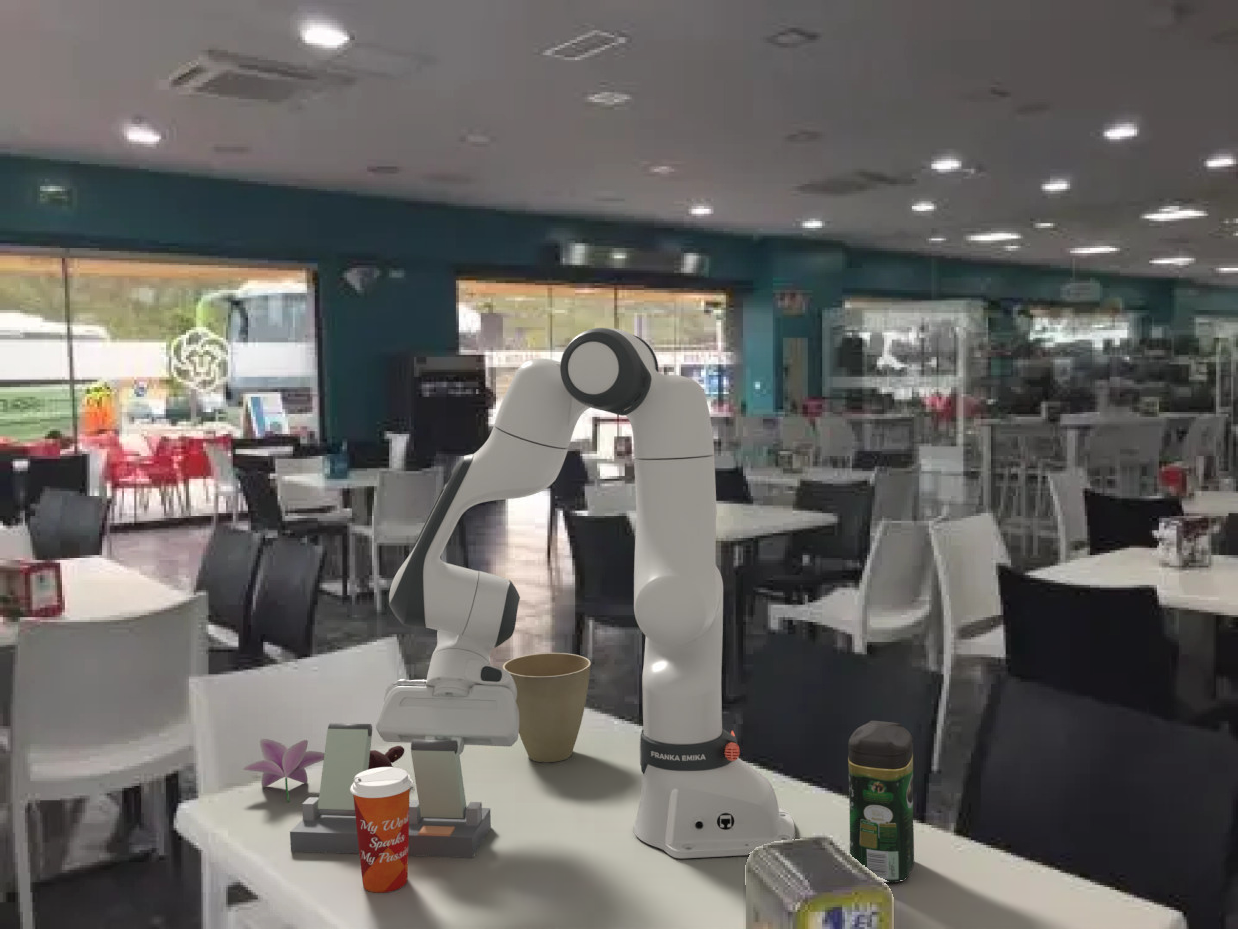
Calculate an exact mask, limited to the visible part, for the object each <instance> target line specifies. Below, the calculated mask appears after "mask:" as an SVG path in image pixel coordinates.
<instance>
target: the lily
mask: <svg viewBox="0 0 1238 929" xmlns="http://www.w3.org/2000/svg"><path fill="white" fill-rule="evenodd" d="M308 742H309V741H308V739H304V740H300V741H299V742H296V743H295V744H293V745H291V746H290V747H287V746H286V745H285V744H282V743H281V742H279V741H276V740H273V739H269V738H261V739H260V740H259V744H260V745H259V747H260V750H261V753H262V756H263V760H259V761H256V762H253V763H251V764H249V765H247V766H244V767H243V768H242V769H243V770H244V771H250V772H261V773H262V776H261V783H260V784H261V787H262V788H267V787H269V786H270V785H272V784H274V783H276V782H278V781H280V780H281V779H283V778H284V781H285V782H284V783H285V792H286V794H285V795H286V801H287V803H290V797H289V796H290V795H289V788H288V786H289V785H288V779H291V780H294V781H297V782H300V783H303V784H307V783H308V774H307V771H306V769H305V768H307V767H310V766H312V765H314V764H316V763H319V762H322V761H324V754H325V752H322V751H315V750H309V751H307V748H308V745H309V744H308Z"/></svg>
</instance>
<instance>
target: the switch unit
mask: <svg viewBox="0 0 1238 929" xmlns="http://www.w3.org/2000/svg"><path fill="white" fill-rule="evenodd" d="M318 801H319V797H313V796H311V797H310V796H309V797H308V798H306V800H305V801H303V802H302V804H301V805H302V807H301V808H302V810H301V811H302V819H301V820H300V821H299V822H298V823H297V824H296V825H295V826H294V827H293V828H292V829H291V830H290V831H289V839H290V842H289V843H290V844H289V845H290V852H295V853H296V852H298V853H320V852H321V854H322V852H324V853H325V852H326V853H325V854H327V853H328V854H329V853H330V854H349V853H358V854H357V855H359V846H358V837H357V827H356V817H355V816H331V815H319V814H318ZM482 806H483V802H482V801H470V802H469V803H468V805H466V807H467V808H466V818H465V820H463V819H430V818H422V817H421V813H420V807H419V800H418V799H417V800H415V799H411V800H409V846H408V857H409V856H410V857H411V856H413V857H414V856H415V857H433V858H434V857H438V858H439V857H440V858H444V857H445V858H465V859H466V858H469V859H470V858H471V859H473V858H474V856H475V854H476V853H477V851H478V849H479V848H480V846H481V845H482V843H483V841H484V839H485V838H486V836H487V834H488V833H489V832H490V829H491V827H492V825H491V824H492V823H491V820H492V818H491V807H482Z"/></svg>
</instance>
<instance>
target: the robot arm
mask: <svg viewBox="0 0 1238 929" xmlns="http://www.w3.org/2000/svg"><path fill="white" fill-rule="evenodd" d="M590 408H592V409H594V410H598V411H604V412H606V413H610V414H614V415H618V416H625V417H626V418H627V419H628V422H629V424H630V426H631V430H632V437H633V457H634V458H633V461H634V462H633V464H634V482H635V483H634V484H635V485H634V486H635V506H636V507H635V510H636V521H635V522H636V524H635V525H636V526H635V537H634V538H635V541H634V563H633V564H634V566H633V567H634V568H633V571H634V572H633V611H634V617H635V622H636V623H637V625H638V627H639V629H640V631H641V632H642V634H644V636H645V643H644V653H643V669H642V677H641V679H642V681H641V682H642V684H641V686H642V725H643V726H642V729H641V732H640V736H639V765H640V770H641V774H642V779H641V791H640V798H639V803H638V804H639V805H638V809H637V815H636V818H635V822H634V826H633V832H634V834H635V836H636V837H637V838H638V839H639V840H641V841H642V842H643V843H645V844H647V845H650V846H652V847H655V848H659V849H660V850H662V851H664V852H665V853H667V854H668V855H669V856H671V857H672V858H674V859H695V858H698V859H699V858H715V857H716V858H717V857H732V856H733V857H735V856H749V855H748V854H749V853H750V852H752V851H753V850H754V849H755V848H756V847H759V846H762V845H764V844H767V843H771V842H774V841H781V840H792V839H794V838H795V839H796V829H795V822H794V820H793V817H792V816H791V815H790V813H789V812H788V811H786V810H785V809H784V808H781V807H779V804H778V799H777V794H776V793H775V790H774V788H773V785H772V784H771V782H770V781H769V779H768V778H767V777H766V776H764V775H763V774H762V773H760V772H758V771H757V770H756V769H755V768H753V767H751V766H750V765H749V764H747V763H746V762H745V761H744V760H742V759H741V758H739V757H740V755H741V754H740V750H741V749H740V748H741V747H740V746H739V745H738V741H737V740H738V739H737V737H736V735H735V733H734V730H730V731H731V732H729V731H727V730H726V729H724V728H723V714H722V713H723V708H722V704H723V703H722V694H723V693H722V666H723V664H722V663H723V661H722V660H723V632H724V630H723V629H724V626H723V624H724V582H723V578H722V574H721V572H720V569H719V568H718V566H717V564H716V551H717V549H716V548H717V547H716V546H717V545H716V543H717V541H716V540H717V538H716V537H717V536H716V535H717V534H716V533H717V514H718V513H717V494H716V493H717V492H716V490H717V487H716V486H717V485H716V466H715V464H716V463H715V447H714V444H715V443H714V434H713V426H712V420H711V419H712V418H711V415H710V410H709V405H708V400H707V396H706V393H705V391H704V389H703V387H702V385H700V383H699V382H697V381H695V379H692V378H690V377H687V376H685V375H678V374H663V373H660V372H659V362H658V358H657V356H656V354H655V351H654V350H653V349H652V347H651V346H650V344H649V343H648V342H646V341H645V340H644V339H642V338H641V337H639V336H636V335H634V334H632V333H630V332H629V331H625V330H623V329H618V328H611V327H610V328H609V327H608V328H607V327H596V328H590V329H587V330H584V331H583V332H581V333H579V334H578V335H576V336H575V337H574V338H572V339H571V340H570V341H569V343H568V344H567V346H566V347H565V349H564V350H563V353H562V356H561V359H560V361H557V360H554V359H549V358H535V359H530V360H527V361H524V362H523V363H522V364H521V365H520V366H519V367H518V369H517V370H516V372H515V374H514V375H513V377H512V379H511V381H510V383H509V386H508V387H507V389H506V391H505V394H504V396H503V399H502V401H501V404H500V405H499V408H498V411H497V415H496V418H495V421H494V423H493V424H494V425H493V428H492V430H491V432H490V435H489V437H488V438H487V440H486V441H485V442H484V444H483V445H482V446H481V447H480V448H478V450H477V451H475V452H474V453H471V454H467V455H463V456H462V457H461V458H460V459H459V460H458V462H457V463H456V464H455V466H454V468H453V469H452V470H451V473H450V474H449V476H448V478H447V480H446V482H445V483H444V485H443V487H442V489H441V491H440V493H439V495H438V497H437V498H436V501H435V503H434V504H433V506H432V508H431V511H430V512H429V515H428V516H427V519H426V521H425V522H424V524H423V527H422V529H421V530H420V531H419V532H420V533H419V535H418V537H417V539H416V540H415V542H414V545H413V547H412V548H411V550H410V552H409V554H408V556H407V558H406V559H405V561H404V562H403V563H402V564H401V566H400V567H399V568H398V570H397V572H396V574H395V576H394V577H393V579H392V582H391V585H390V588H389V589H390V590H389V594H388V595H389V596H388V601H389V602H388V606H389V608H390V609H391V611H392V613H393V614H394V616H395V617H396V619H397V620H399V622H400V623H401V624H402V625H403V626H407V627H414V628H421V629H427V628H428V629H432V630H436V631H437V633H436V639H437V642H436V643H437V644H436V647H435V649H434V651H433V652H432V655H431V658H430V663H429V667H428V671H427V676H426V679H405V678H401V679H398V680H397V681H395V682H393V683H390V685H388V686H387V688H386V689H385V693H384V696H383V704H382V706H381V709H380V712H379V715H378V718H377V720H376V724H375V729H376V731H377V733H378V735H379V736H380V737H381V739H382V741H384V742H386V743H407V744H411V743H412V740H413V739H415V740H457V742H458V747H459V755H462V754H463V752H464V750H465V745H466V746H486V747H488V746H489V747H506V748H507V747H513V745H514V744H515V743H516V742H517V741H518V739H519V735H520V734H519V709H518V706H517V703H516V699H517V688H516V685H515V682H514V680H513V678H512V676H511V674H510V673H509V672H508V671H506V670H504V669H503V668H500V667H498V666H495V665H491V652H492V650H493V648H495V649H496V648H498V647H500V645H502V644H503V643H505V642H506V641H508V640H509V639H510V638H511V637H512V636H513V634H514V632H515V628H516V624H517V623H516V622H517V615H518V609H519V604H520V599H521V596H520V594H519V592H518V590H517V588H516V586H515V584H514V583H513V582H512V581H511V580H510V579H508V578H505V577H503V576H499V575H496V574H493V573H490V572H485V571H481V570H476V569H475V570H474V569H471V568H467V567H463V566H460V565H455V564H452V563H448V562H445V561H443V560H442V559H441V555H442V554H443V552H444V550H445V547H446V546H447V544H448V542H449V540H450V538H451V536H452V534H453V532H454V530H455V528H456V526H457V525H458V522H459V520H460V519H461V517H462V515H463V514H464V513H465V512H466V511H467V510H468V509H470V508H472V507H473V506H476V505H478V504H481V503H486V502H491V501H501V500H511V499H512V500H513V499H520V498H526V497H530V496H532V495H533V496H534V495H536V494H539V493H540V492H543V491H544V490H546V489H547V488H549V487H550V486H551V485H552V484H553V483H555V481H556V479H557V478H558V477H559V474H560V472H561V470H562V467H563V465H564V462H565V459H566V457H567V454H568V451H569V447H570V445H571V441H572V437H573V434H574V431H575V429H576V426H577V423H578V421H579V419H580V417H581V416H582V415H583V414H584V412H586V411H587V410H589V409H590Z"/></svg>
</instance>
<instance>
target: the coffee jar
mask: <svg viewBox="0 0 1238 929" xmlns="http://www.w3.org/2000/svg"><path fill="white" fill-rule="evenodd" d="M847 743H848V744H847V745H848V755H847V756H848V757H847V761H848V762H847V763H848V764H847V765H848V787H849V788H848V789H849V790H848V792H849V794H848V795H849V797H848V798H849V800H848V801H849V804H848V805H849V855H850V854H851V855H852V857H854V858H855V859H857V860H858V861H859V862H860V863H861V864H862V865H865V867H867V868H868V869H869V870H871V871H872V872H873V873H875V874H876V875H877V877H880V878H883V879H885V880H887V881H889V882H888V883H896V882H895V881H900V880H904V879H905V878H906V879H908V878H909V876H910V874H911V872H912V870H913V867H914V864H915V836H914V746H913V744H914V740H913V736H912V734H911V733H910V732H909V730H908V729H906V728H905V727H904V726H902V724H901V723H898V722H890V721H880V720H870V721H869V722H867V723H866V724H862V725H861V726H859V727H858V728H856V729H855V730H854V731H853V732H852V734H851V735H850V736H849V739H848V742H847ZM906 879H905V880H906ZM905 880H904V881H905Z"/></svg>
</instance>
